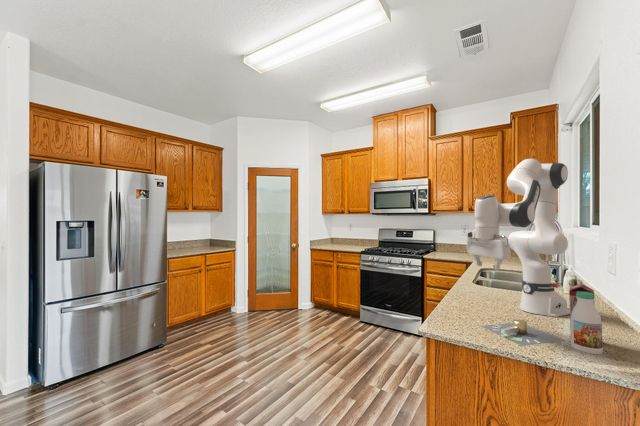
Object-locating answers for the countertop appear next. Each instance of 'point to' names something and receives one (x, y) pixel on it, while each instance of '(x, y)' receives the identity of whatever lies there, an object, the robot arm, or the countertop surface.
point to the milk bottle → (586, 325)
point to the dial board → (524, 335)
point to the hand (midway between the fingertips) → (487, 267)
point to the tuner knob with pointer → (516, 327)
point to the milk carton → (573, 296)
